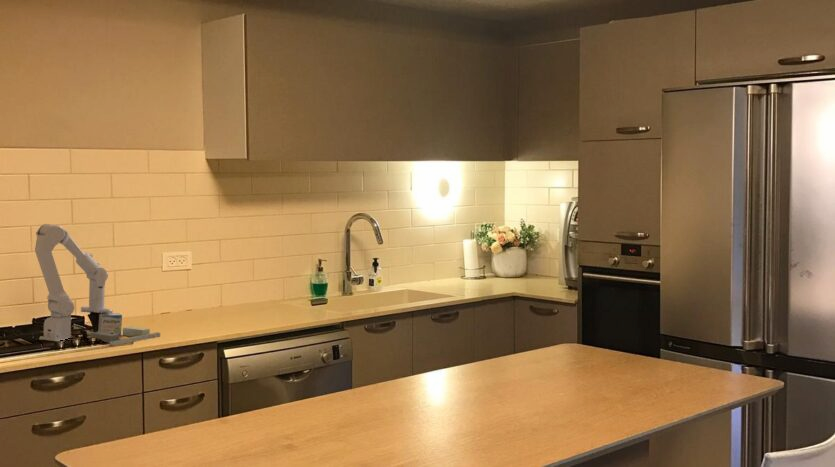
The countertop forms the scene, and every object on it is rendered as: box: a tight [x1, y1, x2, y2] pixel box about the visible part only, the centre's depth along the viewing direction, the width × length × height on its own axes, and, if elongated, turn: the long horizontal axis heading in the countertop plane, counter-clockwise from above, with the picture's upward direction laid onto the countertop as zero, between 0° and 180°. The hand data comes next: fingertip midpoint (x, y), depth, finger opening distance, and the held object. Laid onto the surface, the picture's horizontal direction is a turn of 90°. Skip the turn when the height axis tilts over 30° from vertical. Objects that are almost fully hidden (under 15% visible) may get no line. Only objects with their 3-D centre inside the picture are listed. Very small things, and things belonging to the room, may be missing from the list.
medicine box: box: [98, 312, 123, 337], centre depth 358 cm, size 8×4×9 cm, turn 123°
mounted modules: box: [90, 325, 151, 345], centre depth 355 cm, size 21×10×3 cm, turn 155°
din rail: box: [109, 332, 161, 347], centre depth 351 cm, size 26×2×2 cm, turn 155°
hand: (96, 331), depth 360 cm, fingers closed
